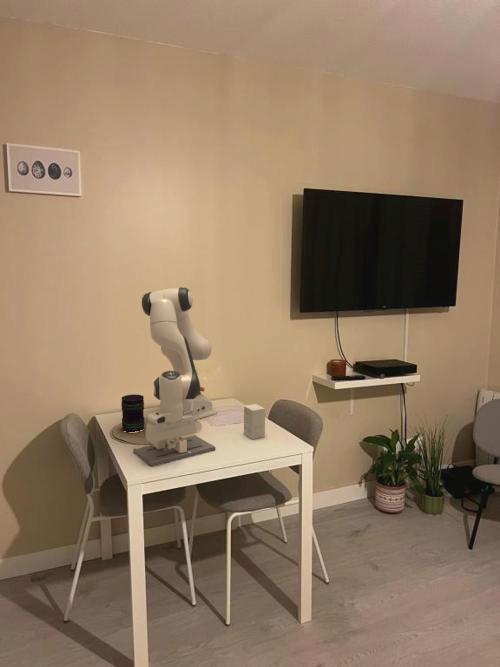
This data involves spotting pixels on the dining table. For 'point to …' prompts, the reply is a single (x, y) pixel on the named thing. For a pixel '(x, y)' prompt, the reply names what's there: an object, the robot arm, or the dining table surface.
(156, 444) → the fader
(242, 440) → the dining table surface
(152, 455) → the console
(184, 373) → the robot arm
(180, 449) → the fader
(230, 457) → the dining table surface
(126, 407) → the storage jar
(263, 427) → the small box
